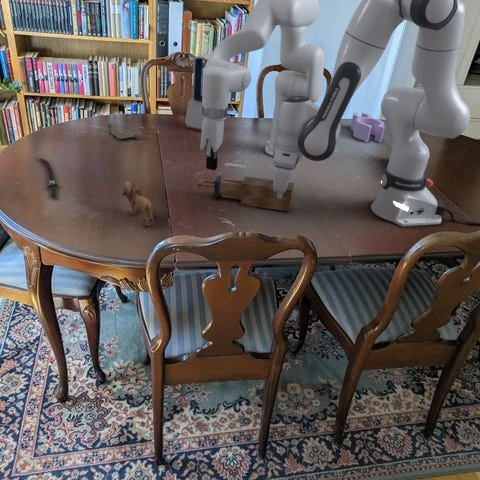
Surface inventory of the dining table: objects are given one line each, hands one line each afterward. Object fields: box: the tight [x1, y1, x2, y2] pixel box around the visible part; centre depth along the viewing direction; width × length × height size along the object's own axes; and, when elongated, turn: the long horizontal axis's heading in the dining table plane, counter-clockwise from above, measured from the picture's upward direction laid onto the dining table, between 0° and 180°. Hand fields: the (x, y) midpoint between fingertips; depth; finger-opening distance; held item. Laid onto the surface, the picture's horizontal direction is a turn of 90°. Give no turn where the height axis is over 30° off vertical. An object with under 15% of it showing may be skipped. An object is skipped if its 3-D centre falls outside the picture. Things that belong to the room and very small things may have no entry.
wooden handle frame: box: [196, 175, 243, 201], centre depth 149 cm, size 20×4×6 cm, turn 78°
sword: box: [40, 158, 59, 198], centre depth 151 cm, size 31×3×1 cm, turn 26°
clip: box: [349, 112, 386, 143], centre depth 214 cm, size 20×12×7 cm, turn 11°
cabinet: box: [240, 176, 294, 212], centre depth 147 cm, size 16×5×7 cm, turn 78°
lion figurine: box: [119, 181, 159, 227], centre depth 134 cm, size 15×5×9 cm, turn 50°
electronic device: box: [184, 53, 211, 132], centre depth 194 cm, size 12×8×30 cm, turn 71°
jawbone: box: [109, 121, 143, 140], centre depth 188 cm, size 9×20×2 cm, turn 50°
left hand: (211, 168), depth 147 cm, fingers closed
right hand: (281, 192), depth 146 cm, fingers closed on cabinet, 5 cm apart
